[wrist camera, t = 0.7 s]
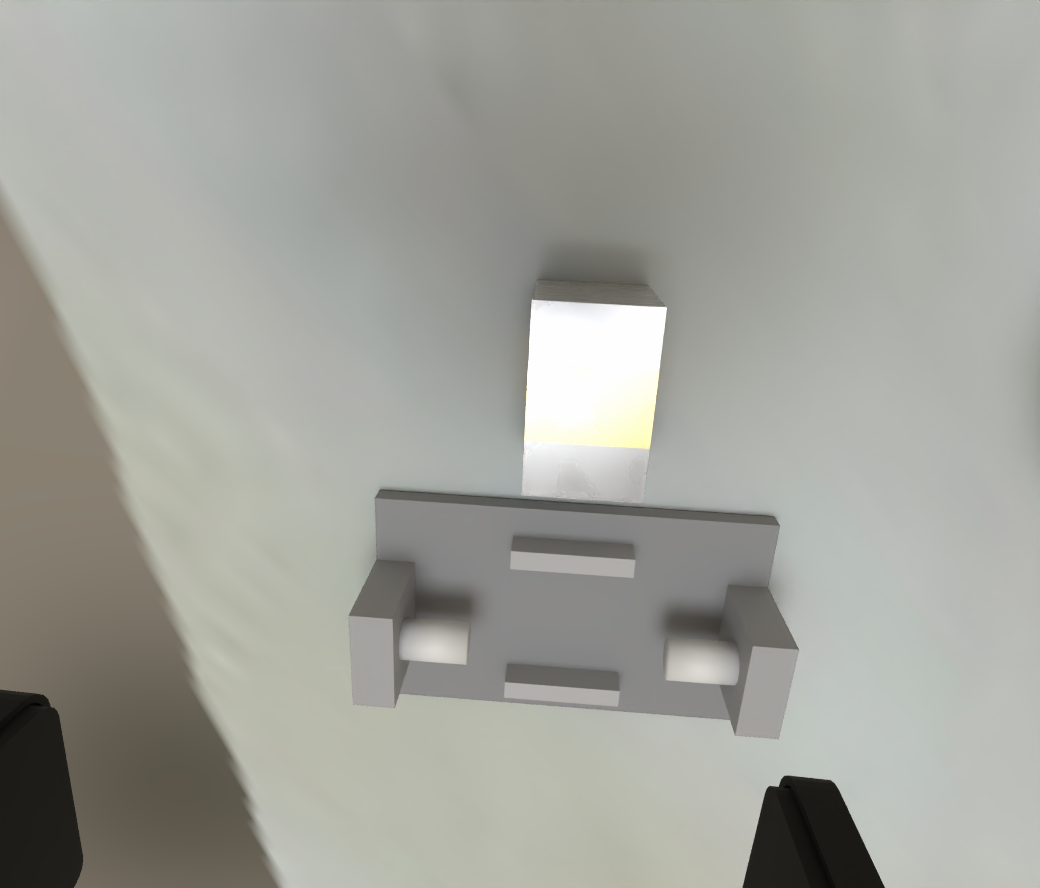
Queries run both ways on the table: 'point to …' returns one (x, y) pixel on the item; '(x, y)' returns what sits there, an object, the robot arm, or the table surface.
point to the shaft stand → (573, 609)
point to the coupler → (591, 390)
